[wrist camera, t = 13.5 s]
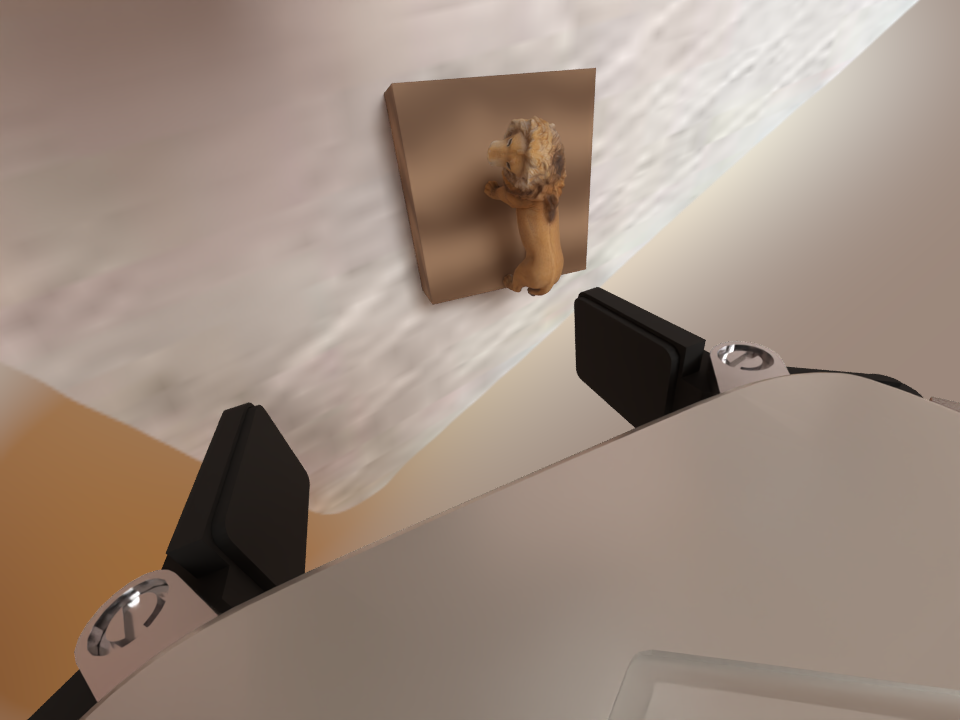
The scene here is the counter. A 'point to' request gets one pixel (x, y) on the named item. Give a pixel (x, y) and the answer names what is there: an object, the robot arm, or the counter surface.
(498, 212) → the walnut block
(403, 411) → the counter surface
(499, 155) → the lion figurine
